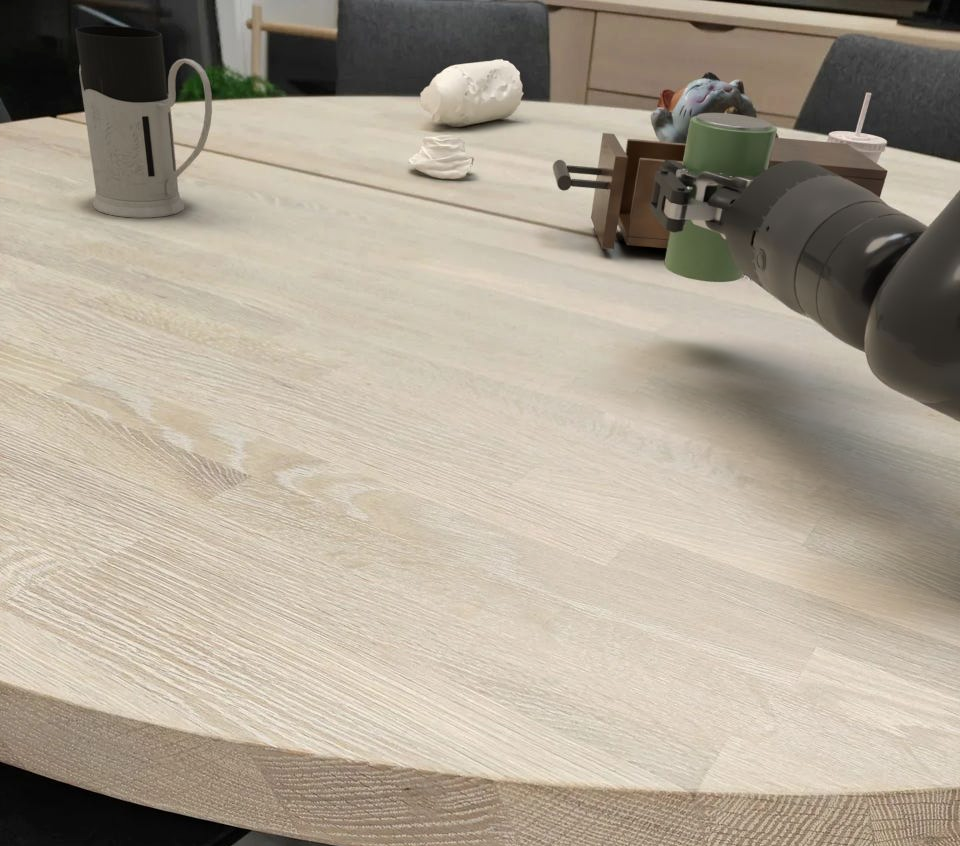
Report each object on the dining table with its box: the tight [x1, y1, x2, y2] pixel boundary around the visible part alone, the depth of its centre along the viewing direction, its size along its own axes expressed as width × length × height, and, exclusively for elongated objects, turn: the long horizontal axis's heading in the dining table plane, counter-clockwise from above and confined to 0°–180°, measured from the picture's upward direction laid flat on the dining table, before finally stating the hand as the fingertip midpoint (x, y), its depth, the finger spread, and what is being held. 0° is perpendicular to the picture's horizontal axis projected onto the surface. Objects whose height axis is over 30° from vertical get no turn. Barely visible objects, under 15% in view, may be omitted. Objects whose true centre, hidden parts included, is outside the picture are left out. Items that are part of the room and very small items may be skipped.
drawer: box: [552, 132, 686, 250], centre depth 100 cm, size 19×11×8 cm, turn 90°
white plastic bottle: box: [419, 58, 525, 128], centre depth 146 cm, size 8×19×8 cm, turn 147°
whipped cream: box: [407, 135, 475, 180], centre depth 120 cm, size 8×7×5 cm
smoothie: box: [825, 92, 888, 164], centre depth 111 cm, size 6×6×14 cm
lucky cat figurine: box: [650, 71, 780, 144], centre depth 128 cm, size 15×12×14 cm
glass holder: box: [74, 25, 213, 219], centre depth 94 cm, size 9×14×15 cm, turn 64°
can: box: [663, 113, 778, 283], centre depth 72 cm, size 6×6×10 cm
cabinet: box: [768, 137, 889, 199], centre depth 100 cm, size 16×13×10 cm
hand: (707, 176), depth 73 cm, fingers closed on can, 6 cm apart
